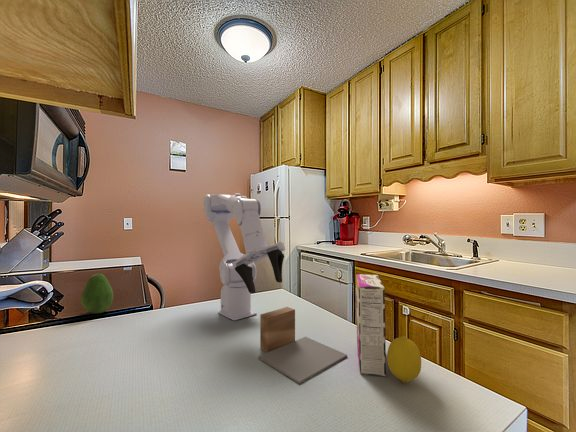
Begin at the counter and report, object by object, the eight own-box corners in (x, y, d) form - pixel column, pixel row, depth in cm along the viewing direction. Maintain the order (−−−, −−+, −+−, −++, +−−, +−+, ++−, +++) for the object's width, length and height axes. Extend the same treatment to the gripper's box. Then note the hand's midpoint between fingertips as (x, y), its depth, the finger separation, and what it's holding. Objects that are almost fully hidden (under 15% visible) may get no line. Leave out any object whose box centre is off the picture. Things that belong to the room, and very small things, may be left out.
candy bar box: (355, 347, 62) (355, 273, 62) (379, 349, 61) (378, 274, 61) (358, 375, 51) (357, 285, 51) (386, 378, 50) (386, 286, 50)
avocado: (98, 308, 89) (98, 270, 89) (119, 309, 87) (119, 271, 87) (74, 317, 81) (74, 276, 81) (96, 318, 79) (97, 277, 79)
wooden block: (259, 348, 61) (259, 314, 61) (286, 337, 67) (286, 306, 67) (268, 353, 59) (268, 317, 59) (295, 341, 65) (295, 309, 65)
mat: (258, 358, 57) (258, 356, 57) (305, 338, 66) (305, 336, 66) (299, 384, 48) (299, 381, 48) (347, 356, 57) (347, 354, 57)
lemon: (383, 373, 51) (383, 329, 51) (413, 373, 51) (413, 330, 51) (393, 391, 46) (393, 343, 46) (427, 392, 46) (427, 343, 46)
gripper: (222, 244, 72) (231, 295, 66) (270, 222, 68) (285, 274, 62) (237, 250, 78) (246, 298, 72) (282, 230, 74) (296, 278, 68)
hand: (265, 287), depth 67 cm, fingers open, 7 cm apart
